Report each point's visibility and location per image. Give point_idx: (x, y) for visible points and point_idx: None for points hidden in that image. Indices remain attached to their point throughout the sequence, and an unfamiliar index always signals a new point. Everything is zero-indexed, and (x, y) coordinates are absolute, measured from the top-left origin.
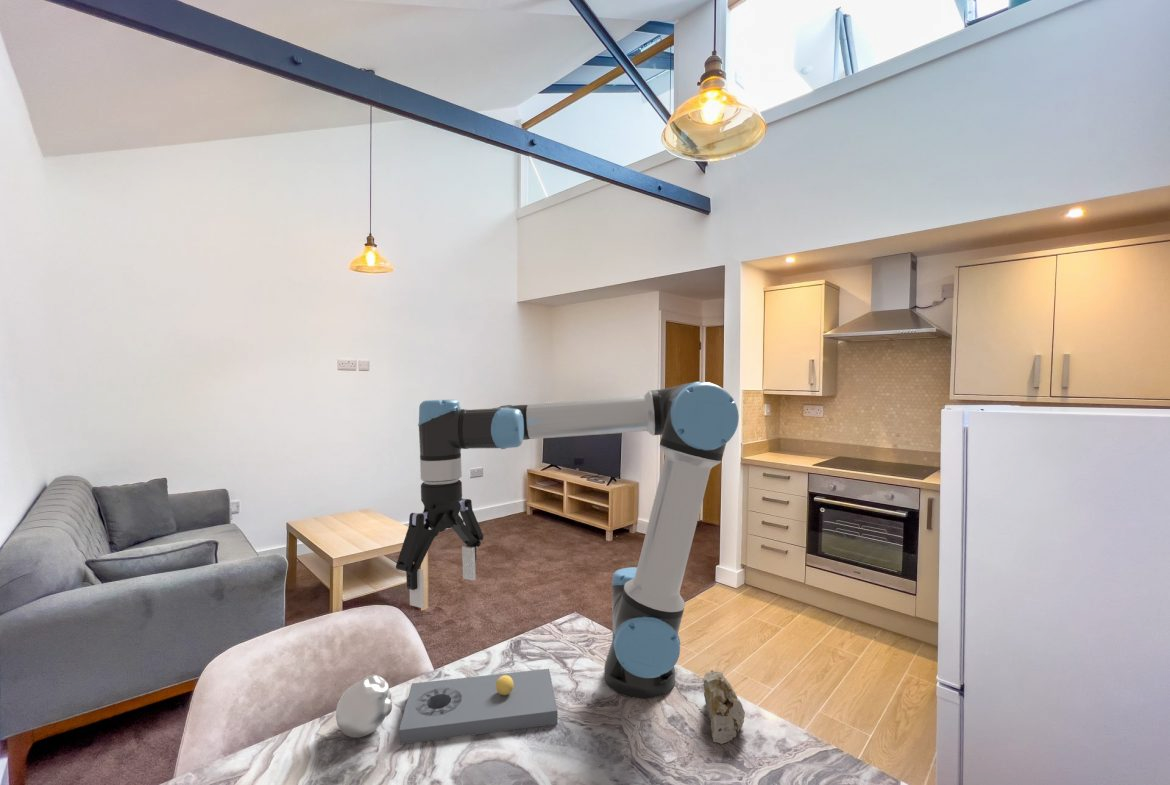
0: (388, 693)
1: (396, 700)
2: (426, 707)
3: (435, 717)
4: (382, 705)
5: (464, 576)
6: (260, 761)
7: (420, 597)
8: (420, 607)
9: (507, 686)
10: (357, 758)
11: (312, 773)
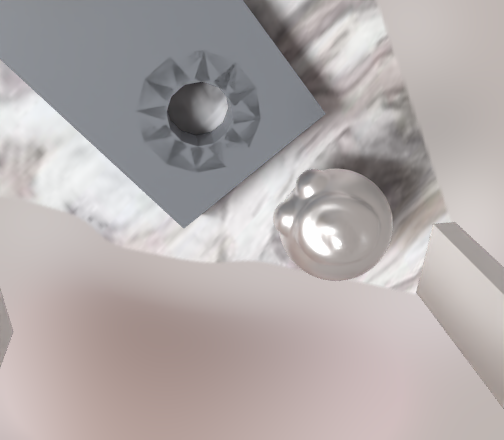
0: (290, 211)
1: (213, 227)
2: (234, 123)
3: (252, 71)
4: (332, 184)
5: (4, 332)
6: None
7: (488, 254)
8: (455, 224)
9: None
10: (378, 144)
11: (432, 180)
